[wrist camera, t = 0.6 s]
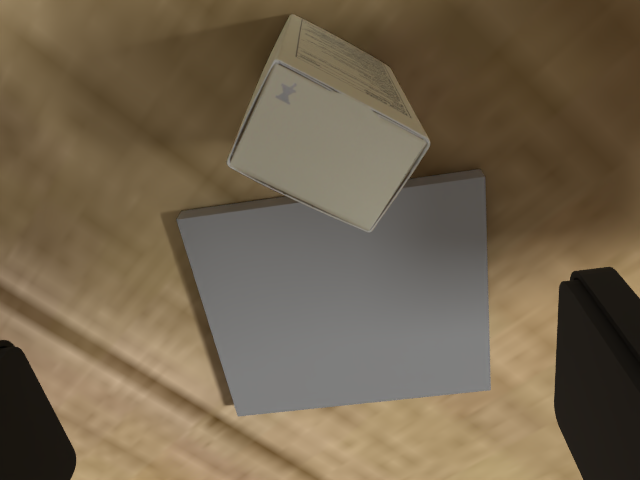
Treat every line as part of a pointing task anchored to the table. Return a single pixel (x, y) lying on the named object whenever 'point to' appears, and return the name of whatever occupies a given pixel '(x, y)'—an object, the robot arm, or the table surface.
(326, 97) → the skincare box
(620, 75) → the table surface
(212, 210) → the slate board
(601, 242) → the table surface
